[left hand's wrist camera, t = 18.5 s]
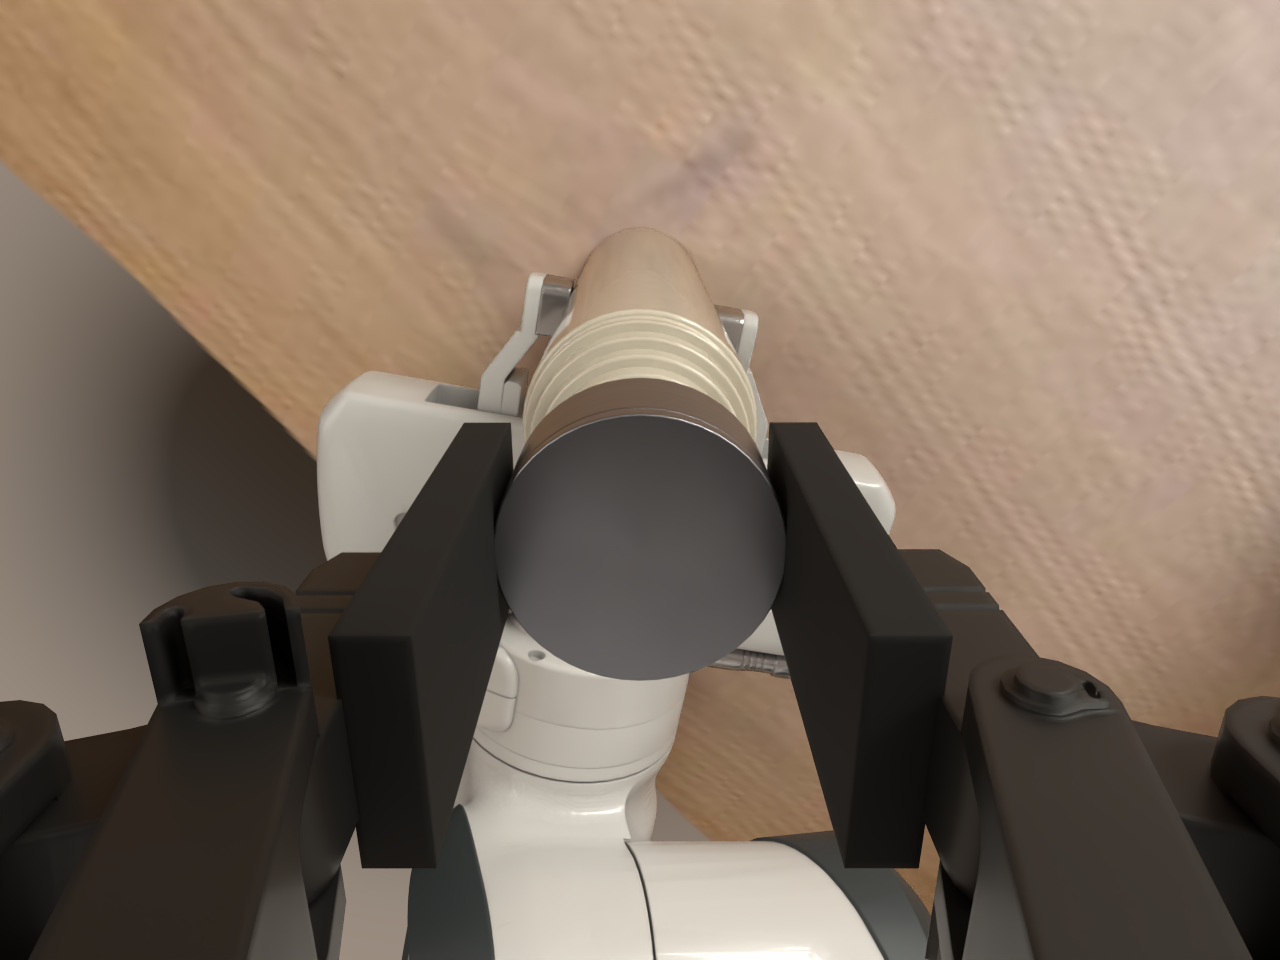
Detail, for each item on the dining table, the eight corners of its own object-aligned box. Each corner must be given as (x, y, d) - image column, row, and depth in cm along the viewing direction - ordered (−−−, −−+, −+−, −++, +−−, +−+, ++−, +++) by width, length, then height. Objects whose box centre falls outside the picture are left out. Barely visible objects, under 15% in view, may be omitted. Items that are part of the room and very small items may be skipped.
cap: (490, 394, 14) (466, 433, 12) (758, 361, 13) (778, 396, 12) (535, 626, 15) (520, 695, 13) (777, 600, 15) (797, 666, 13)
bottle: (675, 364, 37) (732, 714, 14) (564, 325, 36) (438, 625, 13) (717, 252, 35) (859, 445, 12) (602, 210, 34) (531, 330, 12)
